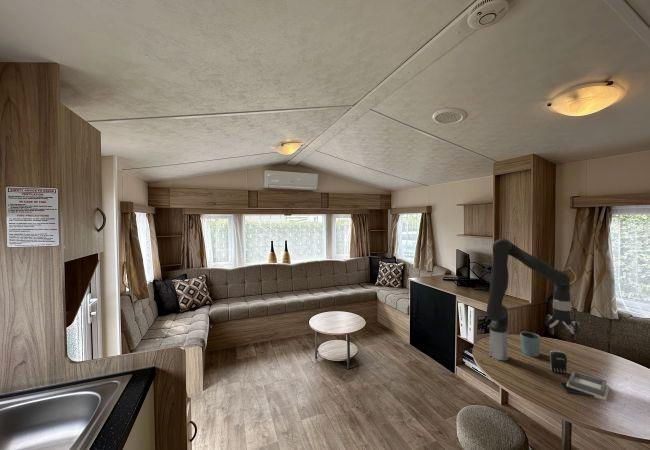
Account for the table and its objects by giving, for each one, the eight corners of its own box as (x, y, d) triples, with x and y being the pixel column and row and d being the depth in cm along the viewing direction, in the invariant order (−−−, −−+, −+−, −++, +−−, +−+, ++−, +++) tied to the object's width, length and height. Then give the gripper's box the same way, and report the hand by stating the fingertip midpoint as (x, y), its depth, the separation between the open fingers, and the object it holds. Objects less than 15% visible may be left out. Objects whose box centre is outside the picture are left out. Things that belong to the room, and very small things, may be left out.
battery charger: (552, 373, 147) (551, 352, 146) (550, 369, 150) (549, 349, 150) (568, 375, 144) (567, 354, 144) (565, 371, 147) (564, 351, 147)
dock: (566, 387, 134) (566, 380, 134) (571, 376, 143) (571, 369, 143) (606, 400, 123) (606, 393, 123) (609, 387, 132) (608, 380, 132)
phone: (558, 382, 137) (596, 387, 132) (559, 384, 137) (596, 389, 132) (566, 391, 130) (606, 397, 125) (566, 393, 130) (606, 399, 125)
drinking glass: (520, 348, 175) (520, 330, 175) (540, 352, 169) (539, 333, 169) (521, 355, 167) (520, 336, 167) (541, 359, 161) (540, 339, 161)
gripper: (543, 305, 149) (543, 334, 149) (576, 313, 136) (576, 343, 137) (548, 303, 153) (549, 330, 153) (581, 310, 140) (582, 340, 141)
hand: (562, 336), depth 145 cm, fingers open, 8 cm apart
